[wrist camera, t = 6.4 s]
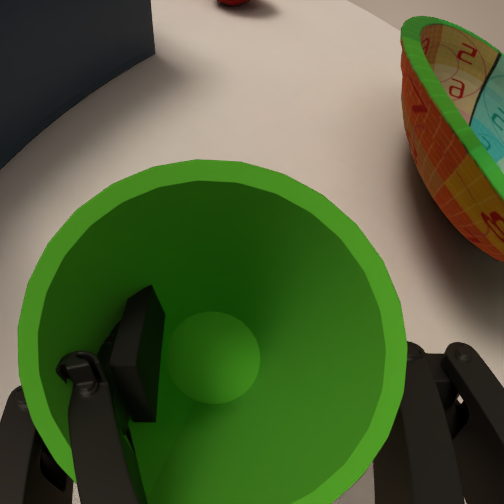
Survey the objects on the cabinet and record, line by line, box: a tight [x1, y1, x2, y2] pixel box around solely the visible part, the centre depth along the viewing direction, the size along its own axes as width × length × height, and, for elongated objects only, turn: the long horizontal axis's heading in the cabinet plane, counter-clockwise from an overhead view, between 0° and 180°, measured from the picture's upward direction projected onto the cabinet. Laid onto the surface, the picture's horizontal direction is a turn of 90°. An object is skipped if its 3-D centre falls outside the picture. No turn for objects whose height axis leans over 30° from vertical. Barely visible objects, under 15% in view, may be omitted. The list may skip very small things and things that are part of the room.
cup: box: [18, 159, 407, 504], centre depth 11 cm, size 9×9×11 cm
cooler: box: [0, 0, 155, 169], centre depth 15 cm, size 19×17×14 cm
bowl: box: [400, 16, 504, 263], centre depth 18 cm, size 22×22×10 cm
